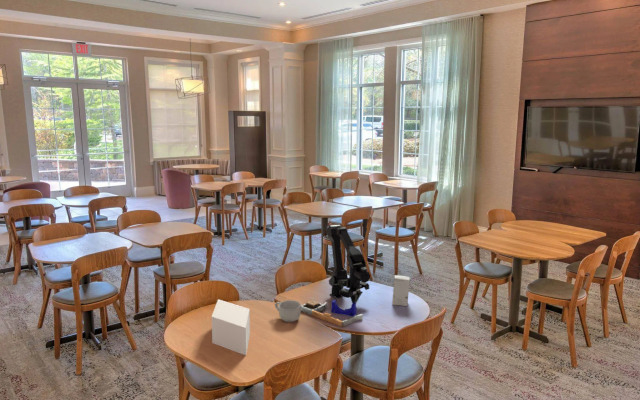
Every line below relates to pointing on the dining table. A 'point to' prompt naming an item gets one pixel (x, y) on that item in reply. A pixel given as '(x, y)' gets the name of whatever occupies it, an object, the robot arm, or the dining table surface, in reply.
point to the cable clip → (338, 310)
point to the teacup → (289, 310)
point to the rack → (315, 308)
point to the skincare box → (400, 290)
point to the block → (231, 326)
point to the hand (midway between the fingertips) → (354, 305)
